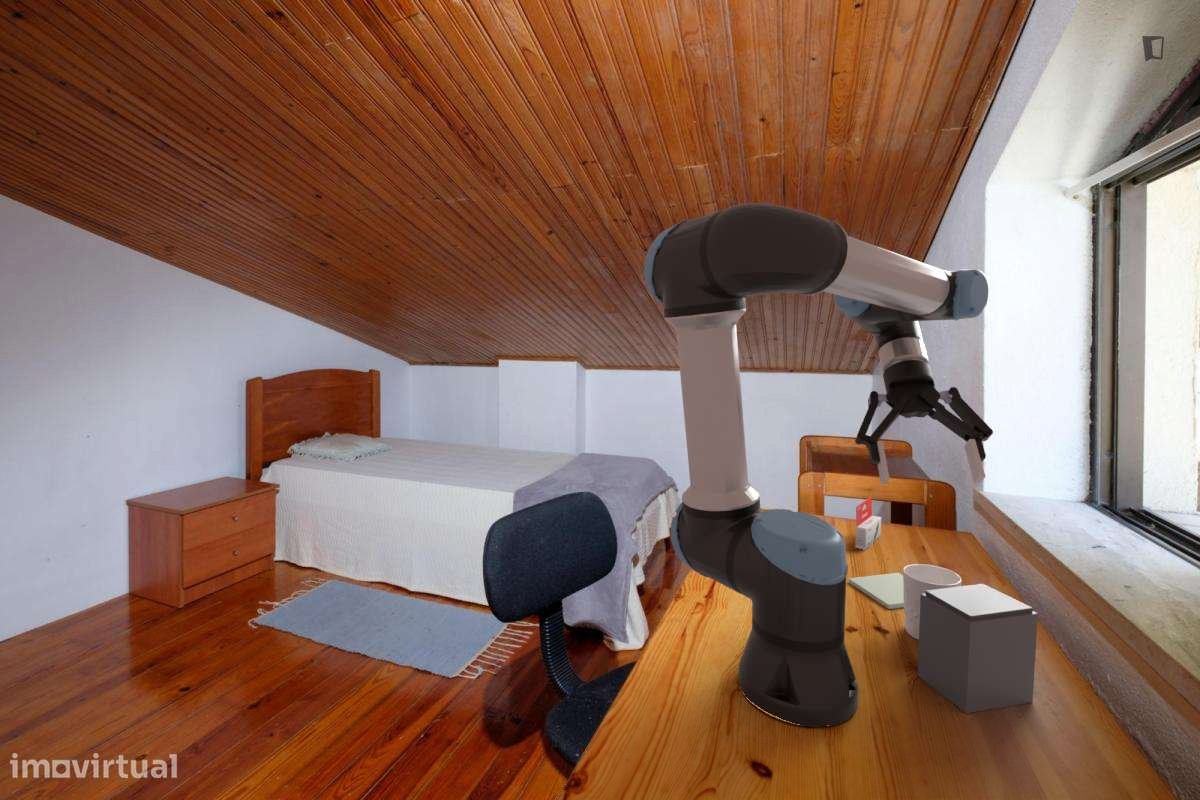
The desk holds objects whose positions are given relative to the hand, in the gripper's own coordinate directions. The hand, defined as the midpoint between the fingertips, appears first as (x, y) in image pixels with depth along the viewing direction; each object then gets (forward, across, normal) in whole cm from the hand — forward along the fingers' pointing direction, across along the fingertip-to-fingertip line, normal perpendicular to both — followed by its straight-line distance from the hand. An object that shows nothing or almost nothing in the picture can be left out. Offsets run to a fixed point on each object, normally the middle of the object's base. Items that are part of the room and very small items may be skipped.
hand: (931, 480), depth 87 cm
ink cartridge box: (-1, +2, -45) cm, 45 cm away
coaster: (+13, +3, -23) cm, 27 cm away
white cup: (+22, +2, -11) cm, 25 cm away
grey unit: (+30, +1, 0) cm, 30 cm away
